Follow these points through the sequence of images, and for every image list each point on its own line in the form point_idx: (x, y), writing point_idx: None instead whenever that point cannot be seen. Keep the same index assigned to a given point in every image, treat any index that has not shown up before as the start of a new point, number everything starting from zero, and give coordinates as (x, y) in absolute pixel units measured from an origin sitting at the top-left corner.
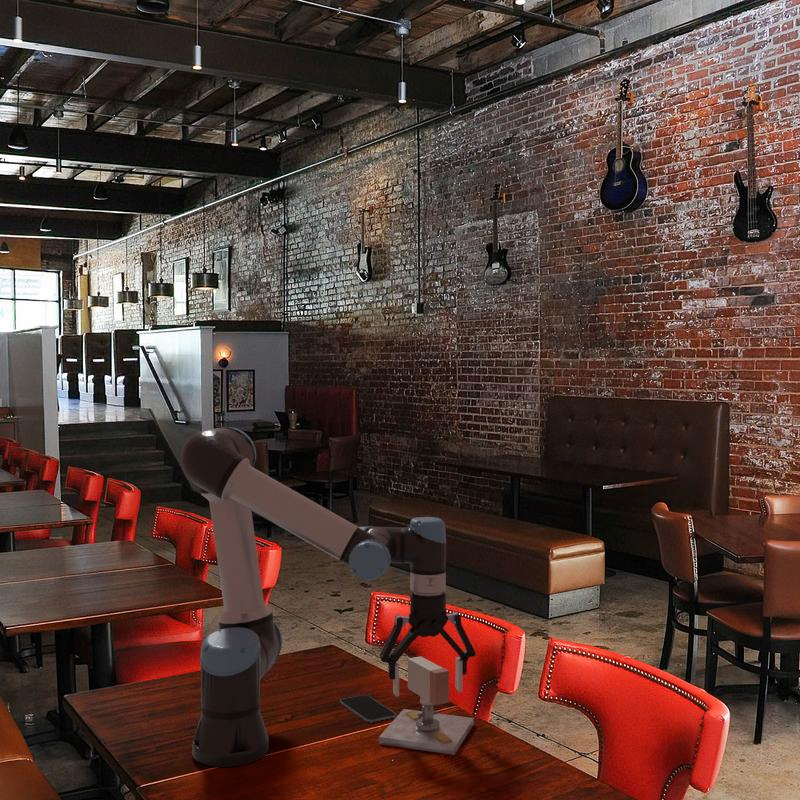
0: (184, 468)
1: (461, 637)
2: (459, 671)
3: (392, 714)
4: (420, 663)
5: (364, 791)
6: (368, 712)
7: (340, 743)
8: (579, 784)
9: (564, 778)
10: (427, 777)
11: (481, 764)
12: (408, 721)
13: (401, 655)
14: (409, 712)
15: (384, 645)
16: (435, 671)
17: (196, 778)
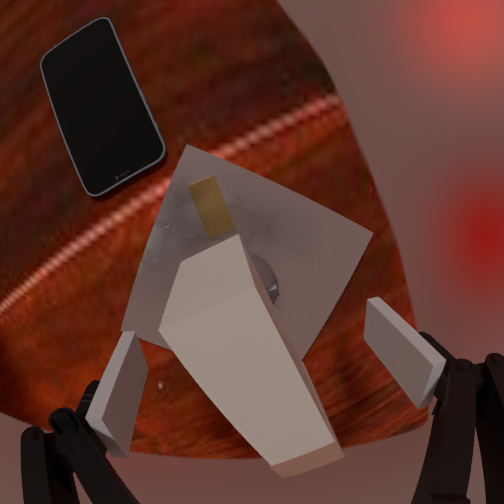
0: None
1: (486, 469)
2: (399, 380)
3: (154, 153)
4: (237, 407)
5: (133, 448)
6: (91, 138)
7: (52, 308)
8: (409, 420)
9: (404, 412)
10: (222, 432)
11: (320, 398)
12: (193, 243)
13: (131, 493)
14: (200, 188)
15: (23, 481)
16: (290, 469)
17: None
